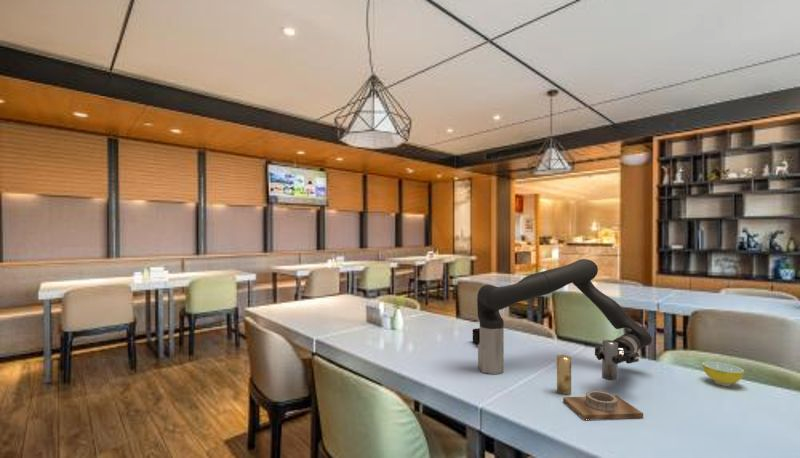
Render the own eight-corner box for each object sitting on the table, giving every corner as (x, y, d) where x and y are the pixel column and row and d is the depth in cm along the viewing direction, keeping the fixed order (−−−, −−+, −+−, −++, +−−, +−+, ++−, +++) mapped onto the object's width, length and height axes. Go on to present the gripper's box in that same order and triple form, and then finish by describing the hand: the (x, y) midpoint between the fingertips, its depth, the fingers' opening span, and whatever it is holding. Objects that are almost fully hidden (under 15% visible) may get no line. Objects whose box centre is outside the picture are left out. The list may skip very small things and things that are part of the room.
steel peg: (607, 380, 123) (607, 343, 124) (599, 375, 128) (599, 340, 128) (620, 380, 124) (621, 343, 124) (611, 375, 128) (612, 340, 128)
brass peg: (561, 395, 126) (561, 359, 126) (554, 389, 131) (554, 355, 131) (573, 395, 127) (573, 359, 127) (566, 389, 131) (566, 354, 131)
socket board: (584, 420, 109) (584, 406, 110) (563, 401, 121) (563, 389, 121) (643, 418, 111) (643, 404, 111) (616, 400, 123) (616, 387, 123)
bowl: (733, 380, 140) (733, 363, 140) (750, 392, 129) (750, 374, 129) (697, 376, 144) (696, 359, 144) (710, 387, 133) (710, 370, 133)
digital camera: (470, 343, 186) (470, 329, 186) (479, 342, 188) (479, 327, 188) (483, 349, 176) (483, 334, 176) (492, 347, 179) (493, 332, 179)
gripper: (601, 333, 141) (584, 342, 129) (646, 342, 131) (632, 352, 119) (601, 353, 141) (584, 364, 129) (645, 363, 131) (631, 376, 119)
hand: (607, 358), depth 124 cm, fingers closed on steel peg, 4 cm apart
